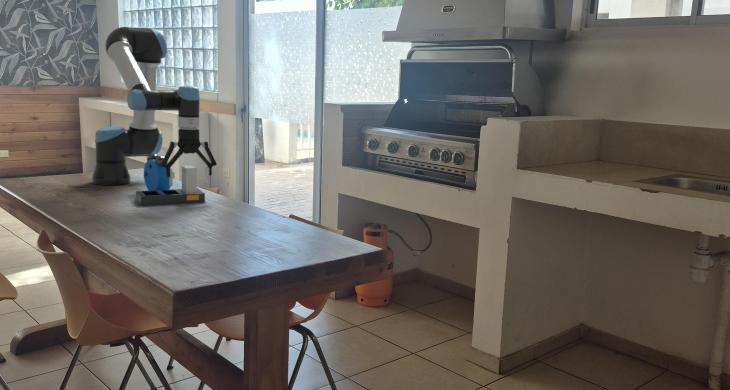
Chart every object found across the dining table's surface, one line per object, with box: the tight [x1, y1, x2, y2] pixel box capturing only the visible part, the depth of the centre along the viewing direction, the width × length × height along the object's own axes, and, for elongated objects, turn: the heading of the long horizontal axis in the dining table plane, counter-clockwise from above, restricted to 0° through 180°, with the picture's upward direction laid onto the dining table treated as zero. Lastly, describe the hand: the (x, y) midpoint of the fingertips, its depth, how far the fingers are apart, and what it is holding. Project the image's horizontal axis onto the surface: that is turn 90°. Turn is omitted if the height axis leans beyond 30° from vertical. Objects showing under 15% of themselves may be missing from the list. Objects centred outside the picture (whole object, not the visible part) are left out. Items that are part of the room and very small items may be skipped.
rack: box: [135, 187, 206, 207], centre depth 247 cm, size 11×23×4 cm, turn 118°
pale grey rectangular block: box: [181, 164, 198, 194], centre depth 250 cm, size 7×4×12 cm, turn 28°
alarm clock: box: [143, 154, 172, 191], centre depth 263 cm, size 13×6×15 cm, turn 44°
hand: (189, 184), depth 250 cm, fingers open, 13 cm apart
